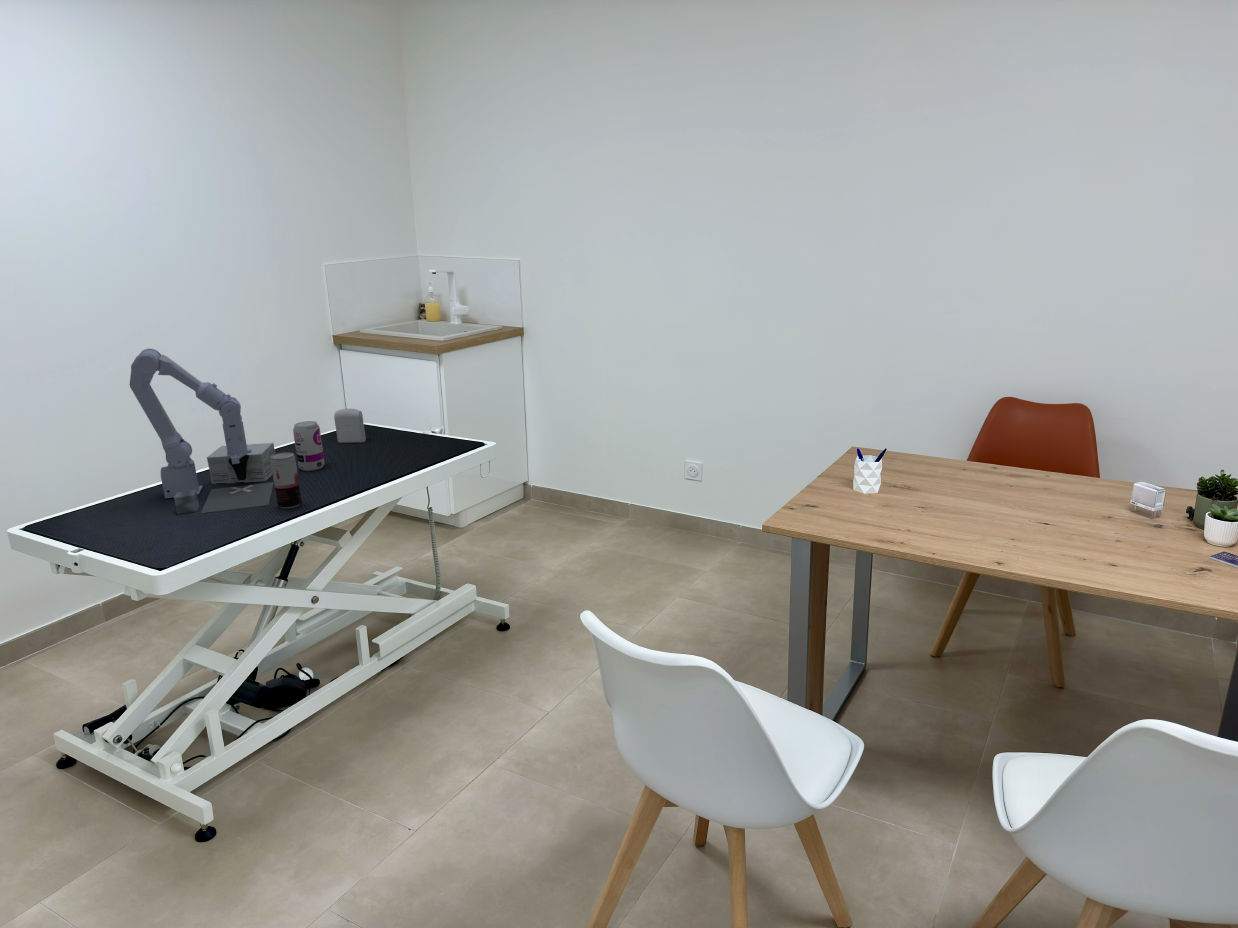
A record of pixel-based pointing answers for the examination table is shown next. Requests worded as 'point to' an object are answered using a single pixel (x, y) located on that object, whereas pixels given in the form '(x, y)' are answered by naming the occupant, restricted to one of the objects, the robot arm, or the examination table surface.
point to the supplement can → (308, 446)
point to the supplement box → (256, 464)
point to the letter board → (238, 497)
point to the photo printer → (349, 426)
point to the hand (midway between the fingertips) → (242, 479)
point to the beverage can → (286, 480)
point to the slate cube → (186, 502)
